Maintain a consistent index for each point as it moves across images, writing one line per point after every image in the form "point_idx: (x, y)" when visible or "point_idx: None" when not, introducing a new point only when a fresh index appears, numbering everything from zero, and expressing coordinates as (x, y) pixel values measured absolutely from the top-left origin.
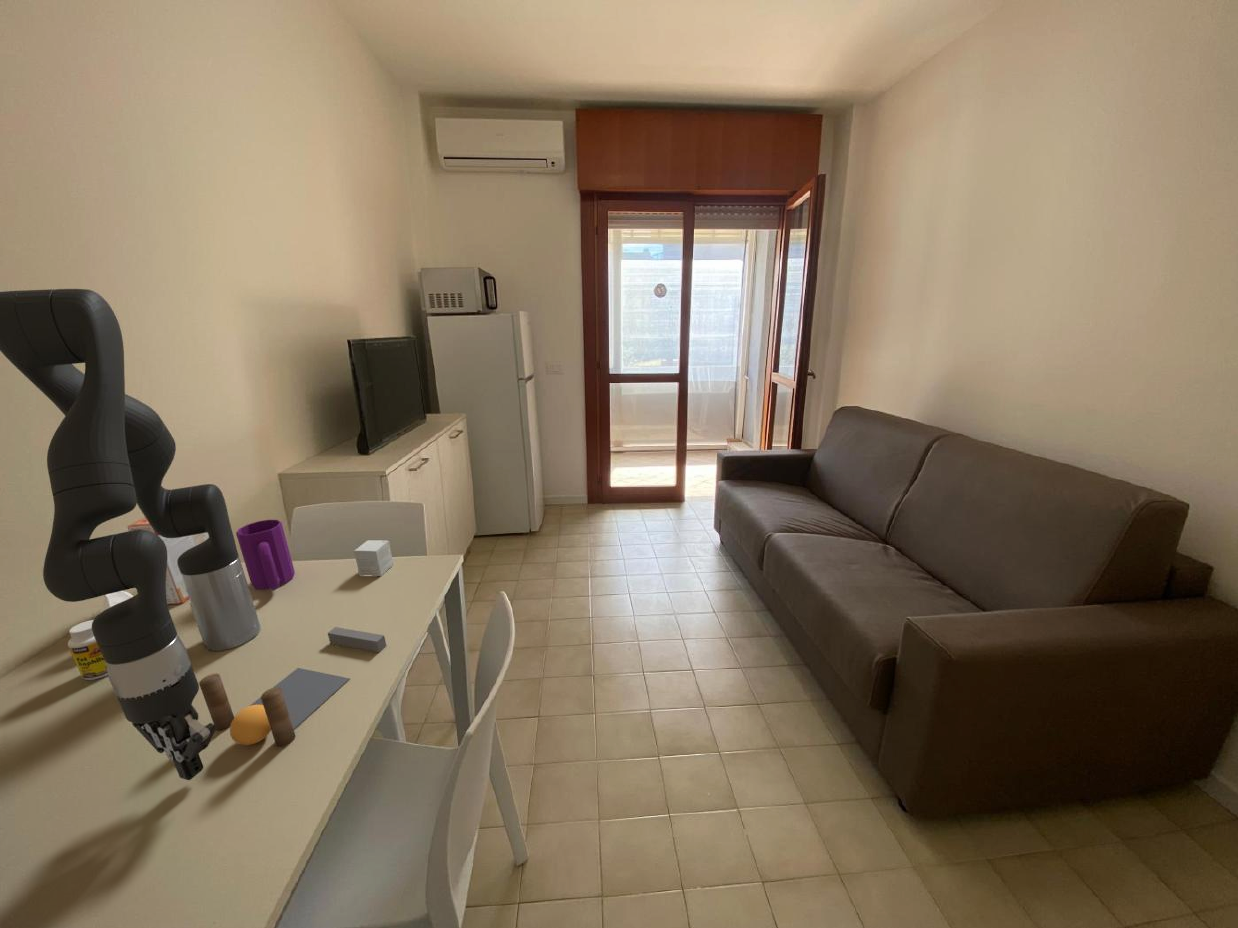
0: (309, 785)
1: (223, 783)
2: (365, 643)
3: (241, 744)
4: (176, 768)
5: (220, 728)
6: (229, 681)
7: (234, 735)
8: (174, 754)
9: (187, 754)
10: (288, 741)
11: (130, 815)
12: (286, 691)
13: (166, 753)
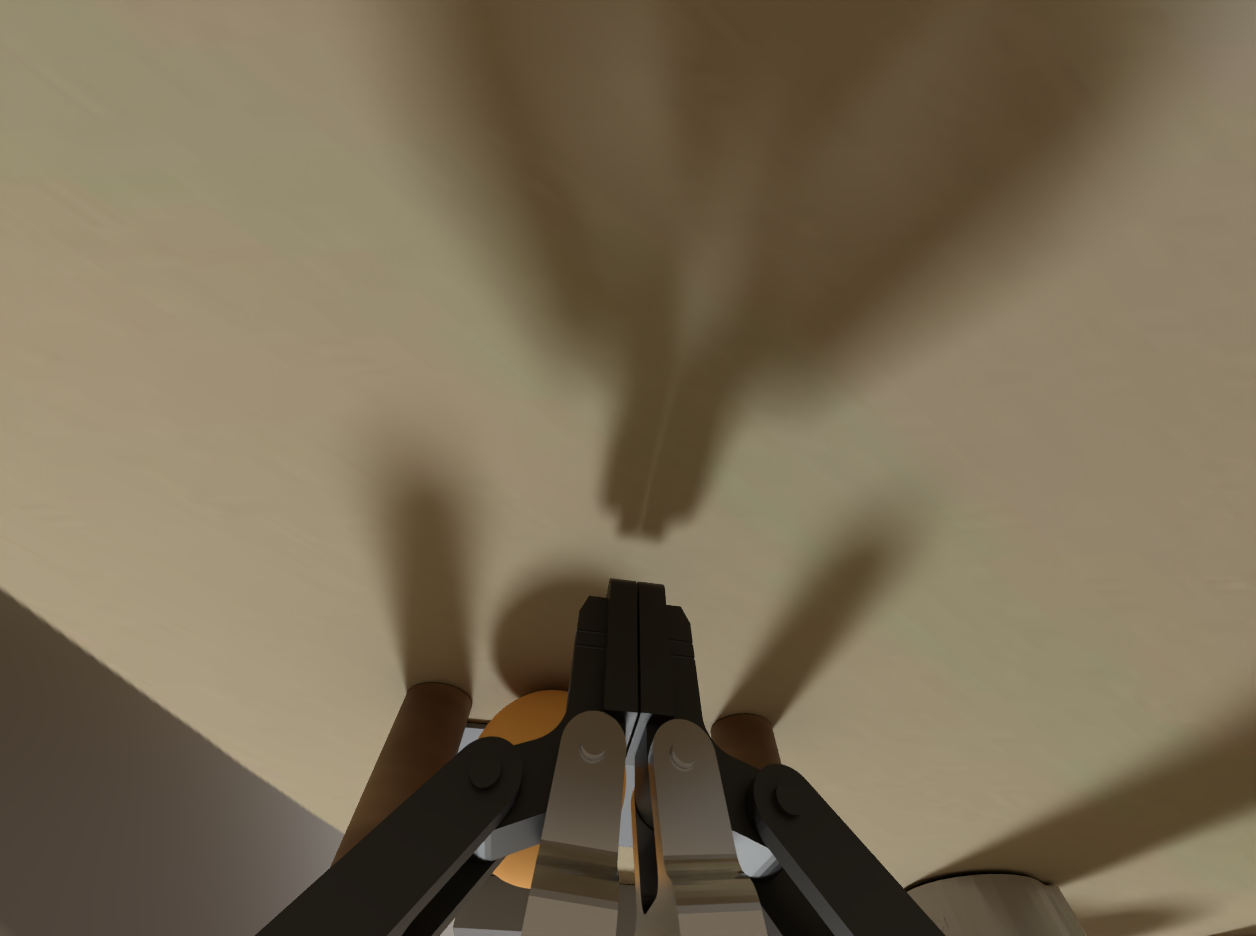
0: (99, 577)
1: (491, 563)
2: (504, 909)
3: (551, 699)
4: (668, 643)
5: (737, 724)
6: (865, 818)
7: None
8: (619, 784)
9: (435, 826)
10: (403, 702)
11: (812, 404)
12: (626, 806)
13: (710, 775)
